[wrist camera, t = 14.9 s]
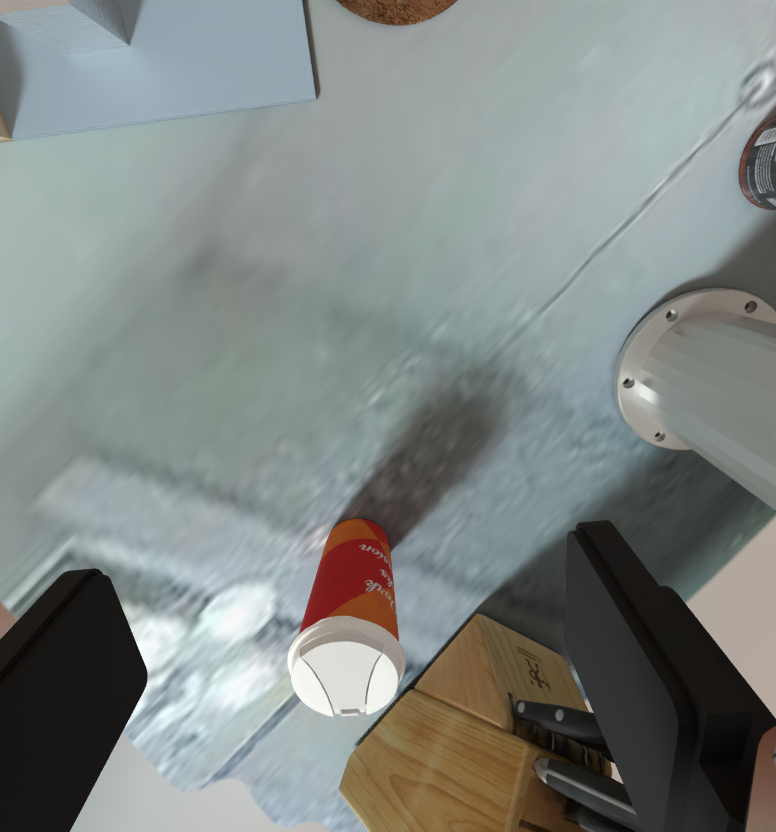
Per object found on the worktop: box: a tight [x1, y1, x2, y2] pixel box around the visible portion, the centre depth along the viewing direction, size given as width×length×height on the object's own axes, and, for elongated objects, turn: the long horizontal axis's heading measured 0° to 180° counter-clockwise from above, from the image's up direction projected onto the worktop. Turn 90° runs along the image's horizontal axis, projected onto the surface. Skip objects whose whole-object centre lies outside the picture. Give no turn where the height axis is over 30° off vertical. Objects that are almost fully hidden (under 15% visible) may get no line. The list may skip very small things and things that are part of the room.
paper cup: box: [288, 518, 406, 717], centre depth 37 cm, size 8×8×14 cm
